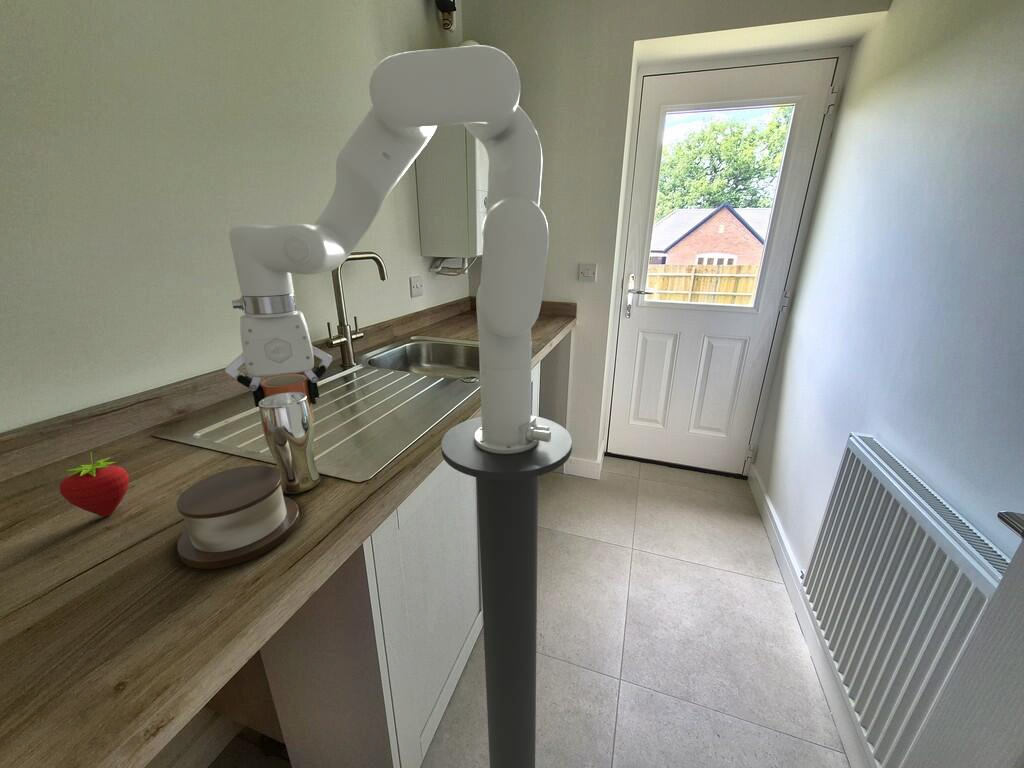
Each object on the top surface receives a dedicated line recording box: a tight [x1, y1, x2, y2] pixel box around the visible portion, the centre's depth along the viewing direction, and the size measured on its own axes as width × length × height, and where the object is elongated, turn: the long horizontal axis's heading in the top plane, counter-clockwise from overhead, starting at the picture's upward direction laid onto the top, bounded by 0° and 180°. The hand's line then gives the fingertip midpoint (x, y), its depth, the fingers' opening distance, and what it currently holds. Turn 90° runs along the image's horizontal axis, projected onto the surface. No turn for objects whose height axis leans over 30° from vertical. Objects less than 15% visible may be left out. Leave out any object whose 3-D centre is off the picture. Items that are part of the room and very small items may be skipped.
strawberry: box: [59, 451, 130, 518], centre depth 58 cm, size 6×8×10 cm
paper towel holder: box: [176, 464, 301, 570], centre depth 55 cm, size 14×14×7 cm
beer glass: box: [258, 392, 321, 495], centre depth 65 cm, size 7×7×15 cm
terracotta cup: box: [260, 373, 315, 422], centre depth 73 cm, size 7×7×8 cm
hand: (289, 405), depth 73 cm, fingers closed on terracotta cup, 7 cm apart
